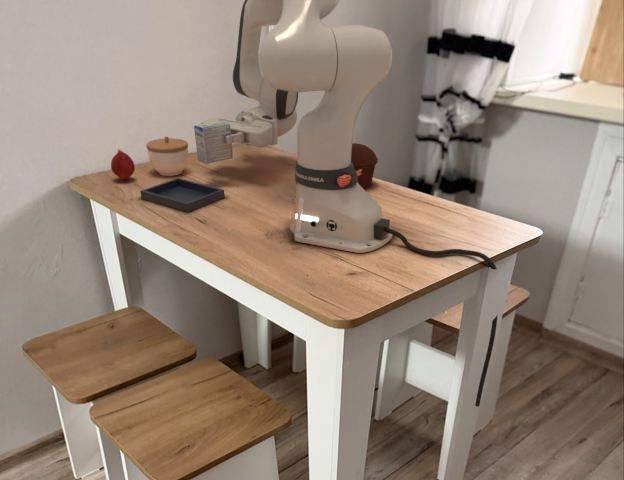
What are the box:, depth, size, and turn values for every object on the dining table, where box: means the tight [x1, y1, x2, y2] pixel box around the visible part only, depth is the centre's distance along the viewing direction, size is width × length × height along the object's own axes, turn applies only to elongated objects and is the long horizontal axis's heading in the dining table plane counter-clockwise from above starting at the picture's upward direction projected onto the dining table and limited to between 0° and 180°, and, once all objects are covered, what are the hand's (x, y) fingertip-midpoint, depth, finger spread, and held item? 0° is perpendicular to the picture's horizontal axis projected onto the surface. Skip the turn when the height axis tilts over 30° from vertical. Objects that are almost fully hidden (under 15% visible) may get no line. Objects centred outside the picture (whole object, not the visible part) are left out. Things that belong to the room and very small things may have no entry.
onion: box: [110, 148, 136, 181], centre depth 154 cm, size 6×6×8 cm
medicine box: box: [193, 121, 234, 165], centre depth 148 cm, size 8×4×9 cm, turn 130°
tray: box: [139, 177, 226, 213], centre depth 145 cm, size 16×13×2 cm
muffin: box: [351, 142, 379, 190], centre depth 153 cm, size 12×11×10 cm
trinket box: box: [145, 136, 189, 177], centre depth 160 cm, size 11×11×9 cm
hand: (216, 138), depth 148 cm, fingers closed on medicine box, 5 cm apart
